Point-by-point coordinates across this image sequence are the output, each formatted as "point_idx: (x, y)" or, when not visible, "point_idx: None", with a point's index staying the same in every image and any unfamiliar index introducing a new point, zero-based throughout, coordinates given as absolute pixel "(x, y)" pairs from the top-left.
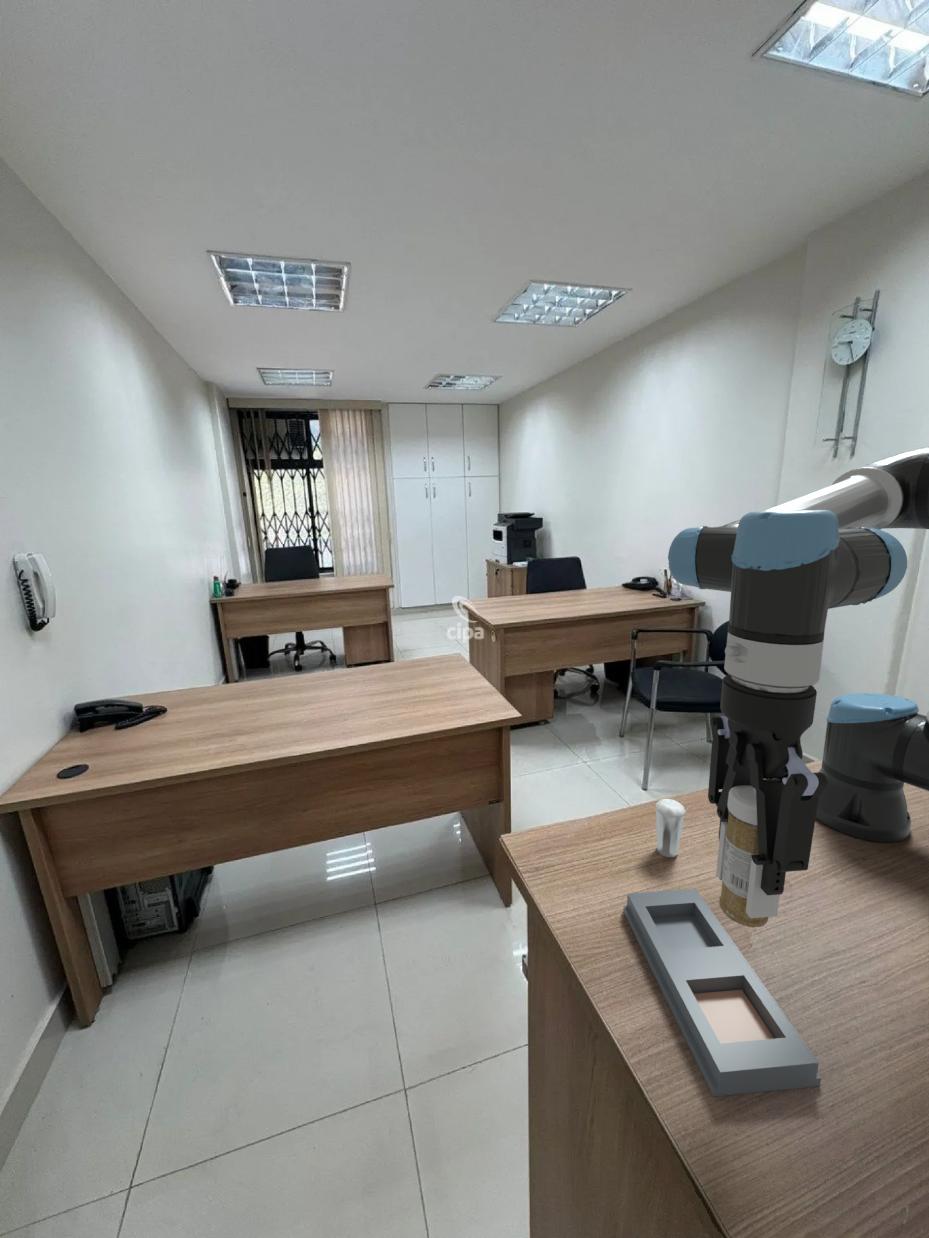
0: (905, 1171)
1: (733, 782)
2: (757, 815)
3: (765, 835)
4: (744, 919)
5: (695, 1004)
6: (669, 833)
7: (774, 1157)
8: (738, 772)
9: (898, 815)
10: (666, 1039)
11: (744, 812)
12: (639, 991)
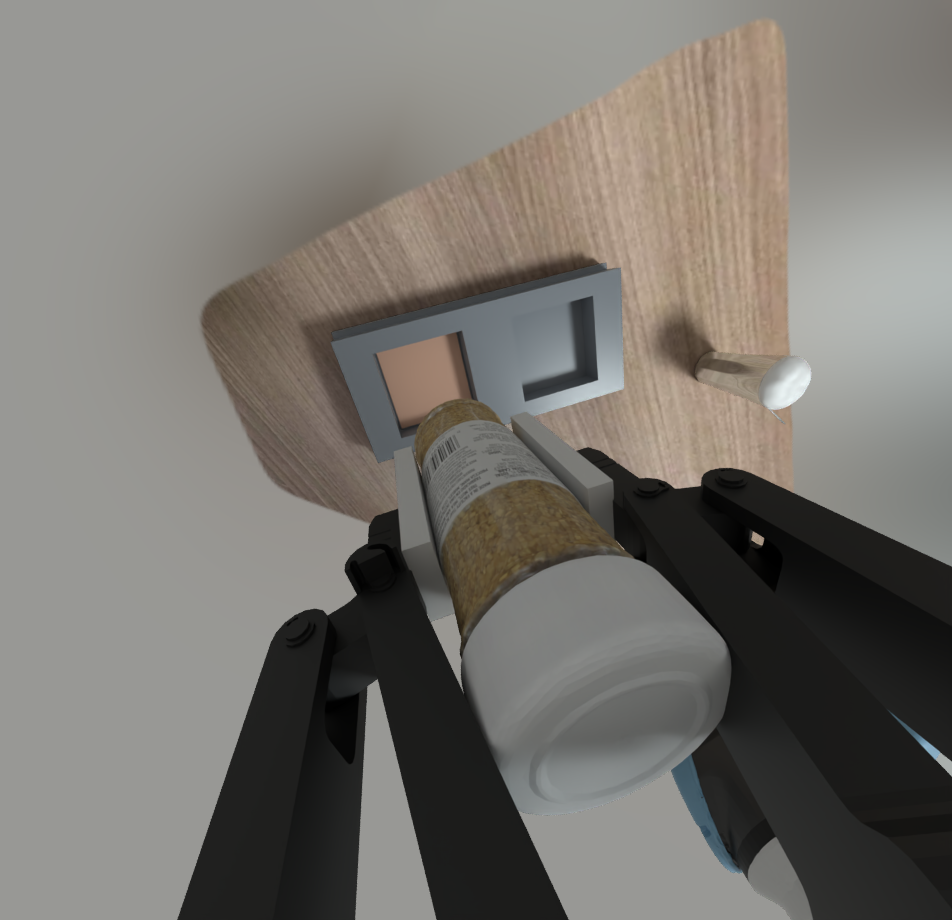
0: (318, 496)
1: (759, 690)
2: (469, 713)
3: (381, 674)
4: (419, 438)
5: (424, 334)
6: (733, 372)
7: (286, 383)
8: (843, 824)
9: None
10: (394, 287)
11: (508, 654)
12: (460, 261)
